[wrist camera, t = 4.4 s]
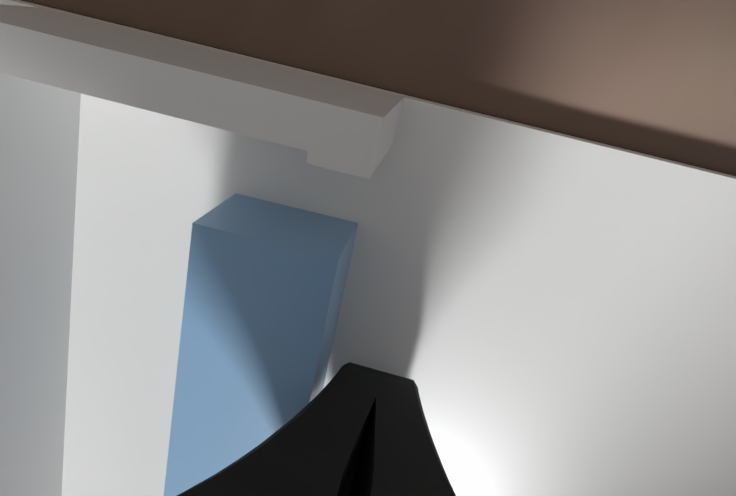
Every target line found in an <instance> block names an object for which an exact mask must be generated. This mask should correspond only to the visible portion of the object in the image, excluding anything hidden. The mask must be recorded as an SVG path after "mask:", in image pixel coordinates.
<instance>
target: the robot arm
mask: <svg viewBox="0 0 736 496" xmlns="http://www.w3.org/2000/svg"><path fill="white" fill-rule="evenodd" d="M177 496H456V494H455V492H454V490H453V488H452V486H451V484H450V482H449V479H448V477H447V475H446V472H445V470H444V468H443V465H442V463H441V460H440V457H439V455H438V452H437V450H436V447H435V445H434V442H433V439H432V436H431V434H430V431H429V428H428V425H427V421H426V418H425V415H424V412H423V408H422V404H421V400H420V396H419V391H418V387H417V385H416V383H415V382H414V380H412V379H408V378H405V377H401V376H397V375H394V374H390V373H387V372H383V371H379V370H376V369H372V368H369V367H365V366H361V365H358V364H354V363H351V362H349V363H347V364H345V365H343V366H341V368H340V370H339V371H338V372H337V374H336V375H335V376H334V377H333V379H332V380H331V381H330V382H329V383H328V384H327V385H326V386H325V388H324V389H323V390H322V391H321V392H320V393H319V394H318V395H317V396H316V397H315V398H314V399H313V400H312V401H310V402H309V403H308V404H307V405H306V406H305V407H304V408H303V409H302V410H301V411H300V412H299V413H298V414H296V415H295V416H294V417H293V418H292V419H291V420H290V421H288V422H287V423H286V424H285V425H283V426H282V427H281V428H280V429H278V430H277V431H276V432H275V433H273V434H272V435H271V436H270V437H268V438H267V439H266V440H265V441H263V442H262V443H261V444H259V445H258V446H257V447H255V448H254V449H252V450H251V451H250V452H248V453H247V454H245V455H244V456H242V457H241V458H239V459H238V460H236V461H235V462H233V463H232V464H230V465H229V466H227V467H226V468H224V469H222V470H221V471H219V472H218V473H216V474H214V475H213V476H211V477H209V478H207V479H206V480H204V481H202V482H200V483H198V484H197V485H195V486H193V487H191V488H190V489H188V490H186V491H184V492H182V493H181V494H179V495H177Z"/></svg>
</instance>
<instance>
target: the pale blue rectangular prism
mask: <svg viewBox="0 0 736 496" xmlns="http://www.w3.org/2000/svg"><path fill="white" fill-rule="evenodd" d="M357 226H358V223H356V222H352V221H348V220H344V219H339V218H335V217H331V216H327V215H323V214H319V213H315V212H311V211H306V210H302V209H298V208H294V207H290V206H286V205H282V204H278V203H274V202H269V201H265V200H261V199H257V198H253V197H249V196H245V195H241V194H236V193H235V194H234V195H232V196H231V197H230V198H228V199H227V200H225V201H224V202H222V203H221V204H219V205H218V206H216V207H215V208H213V209H212V210H211V211H209V212H208V213H206V214H205V215H203V216H202V217H200V218H199V219H197V220H196V221H195V222H193V223H192V232H191V241H190V251H189V260H188V270H187V279H186V289H185V298H184V307H183V317H182V326H181V336H180V345H179V355H178V364H177V374H176V383H175V393H174V402H173V411H172V421H171V430H170V440H169V449H168V459H167V468H166V478H165V487H164V496H177V495H179V494H181V493H182V492H184V491H186V490H188V489H190V488H191V487H193V486H195V485H197V484H198V483H200V482H202V481H204V480H206V479H207V478H209V477H211V476H213V475H214V474H216V473H218V472H219V471H221V470H222V469H224V468H226V467H227V466H229V465H230V464H232V463H233V462H235V461H236V460H238V459H239V458H241V457H242V456H244V455H245V454H247V453H248V452H250V451H251V450H252V449H254V448H255V447H257V446H258V445H259V444H261V443H262V442H263V441H265V440H266V439H267V438H268V437H270V436H271V435H272V434H273V433H275V432H276V431H277V430H278V429H280V428H281V427H282V426H283V425H285V424H286V423H287V422H288V421H290V420H291V419H292V418H293V417H294V416H295V415H296V414H298V413H299V412H300V411H301V410H302V409H303V408H304V407H305V406H306V405H307V404H308V403H309V402H310V401H312V400H313V399H314V398H315V397H316V396H317V395H318V394H319V393H320V392H321V391H322V390H323V387H324V382H325V378H326V373H327V368H328V363H329V359H330V354H331V349H332V344H333V340H334V335H335V330H336V325H337V321H338V316H339V311H340V306H341V302H342V297H343V292H344V287H345V283H346V278H347V273H348V268H349V264H350V259H351V254H352V249H353V245H354V240H355V235H356V230H357Z"/></svg>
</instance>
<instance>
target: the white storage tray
mask: <svg viewBox="0 0 736 496" xmlns="http://www.w3.org/2000/svg"><path fill="white" fill-rule="evenodd" d="M235 193H236V194H241V195H245V196H249V197H253V198H257V199H261V200H265V201H269V202H274V203H278V204H282V205H286V206H290V207H294V208H298V209H302V210H306V211H311V212H315V213H319V214H323V215H327V216H331V217H335V218H339V219H344V220H348V221H352V222H356V223H358V226H357V230H356V235H355V240H354V245H353V249H352V254H351V259H350V264H349V268H348V273H347V278H346V283H345V287H344V292H343V297H342V302H341V306H340V311H339V316H338V321H337V325H336V330H335V335H334V340H333V344H332V349H331V354H330V359H329V363H328V368H327V373H326V378H325V382H324V387H323V389H324V388H325V386H326V385H327V384H328V383H329V382H330V381H331V380H332V379H333V377H334V376H335V375H336V374H337V372H338V371H339V370H340V368H341V366H343V365H345V364H347V363H349V362H351V363H354V364H358V365H361V366H365V367H369V368H372V369H376V370H379V371H383V372H387V373H390V374H394V375H397V376H401V377H405V378H408V379H412V380H414V382H415V383H416V385H417V387H418V391H419V396H420V400H421V404H422V408H423V412H424V415H425V418H426V421H427V425H428V428H429V431H430V434H431V436H432V439H433V442H434V445H435V447H436V450H437V452H438V455H439V457H440V460H441V463H442V465H443V468H444V470H445V472H446V475H447V477H448V479H449V482H450V484H451V486H452V488H453V490H454V492H455V494H456V496H736V176H733V175H729V174H725V173H721V172H717V171H713V170H709V169H704V168H700V167H696V166H692V165H688V164H684V163H680V162H676V161H672V160H668V159H664V158H660V157H656V156H652V155H648V154H643V153H639V152H635V151H631V150H627V149H623V148H619V147H615V146H611V145H607V144H603V143H599V142H595V141H591V140H587V139H582V138H578V137H574V136H570V135H566V134H562V133H558V132H554V131H550V130H546V129H542V128H538V127H534V126H530V125H526V124H521V123H517V122H513V121H509V120H505V119H501V118H497V117H493V116H489V115H485V114H481V113H477V112H473V111H469V110H465V109H461V108H456V107H452V106H448V105H444V104H440V103H436V102H432V101H428V100H424V99H420V98H416V97H412V96H408V95H404V94H400V93H395V92H391V91H387V90H383V89H379V88H375V87H371V86H367V85H363V84H359V83H355V82H351V81H347V80H343V79H339V78H334V77H330V76H326V75H322V74H318V73H314V72H310V71H306V70H302V69H298V68H294V67H290V66H286V65H282V64H278V63H274V62H269V61H265V60H261V59H257V58H253V57H249V56H245V55H241V54H237V53H233V52H229V51H225V50H221V49H217V48H213V47H208V46H204V45H200V44H196V43H192V42H188V41H184V40H180V39H176V38H172V37H168V36H164V35H160V34H156V33H152V32H147V31H143V30H139V29H135V28H131V27H127V26H123V25H119V24H115V23H111V22H107V21H103V20H99V19H95V18H91V17H87V16H82V15H78V14H74V13H70V12H66V11H62V10H58V9H54V8H50V7H46V6H42V5H38V4H34V3H30V2H26V1H21V0H0V496H164V487H165V478H166V468H167V459H168V449H169V440H170V430H171V421H172V411H173V402H174V393H175V383H176V374H177V364H178V355H179V345H180V336H181V326H182V317H183V307H184V298H185V289H186V279H187V270H188V260H189V251H190V241H191V232H192V223H193V222H195V221H196V220H197V219H199V218H200V217H202V216H203V215H205V214H206V213H208V212H209V211H211V210H212V209H213V208H215V207H216V206H218V205H219V204H221V203H222V202H224V201H225V200H227V199H228V198H230V197H231V196H232V195H234V194H235Z"/></svg>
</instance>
